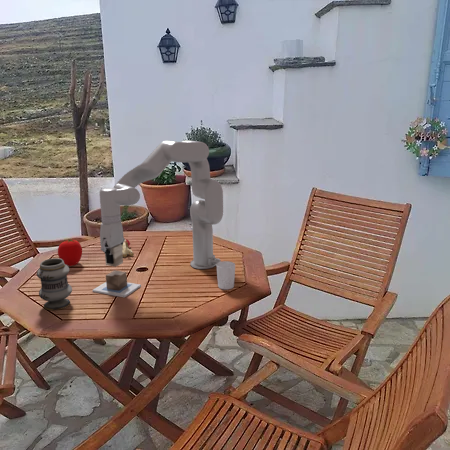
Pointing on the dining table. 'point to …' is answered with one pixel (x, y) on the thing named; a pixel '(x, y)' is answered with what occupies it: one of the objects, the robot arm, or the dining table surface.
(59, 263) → the apothecary jar
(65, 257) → the tomato
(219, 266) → the white cup
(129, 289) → the board
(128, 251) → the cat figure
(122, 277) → the walnut cube
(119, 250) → the ash pillar
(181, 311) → the dining table surface
